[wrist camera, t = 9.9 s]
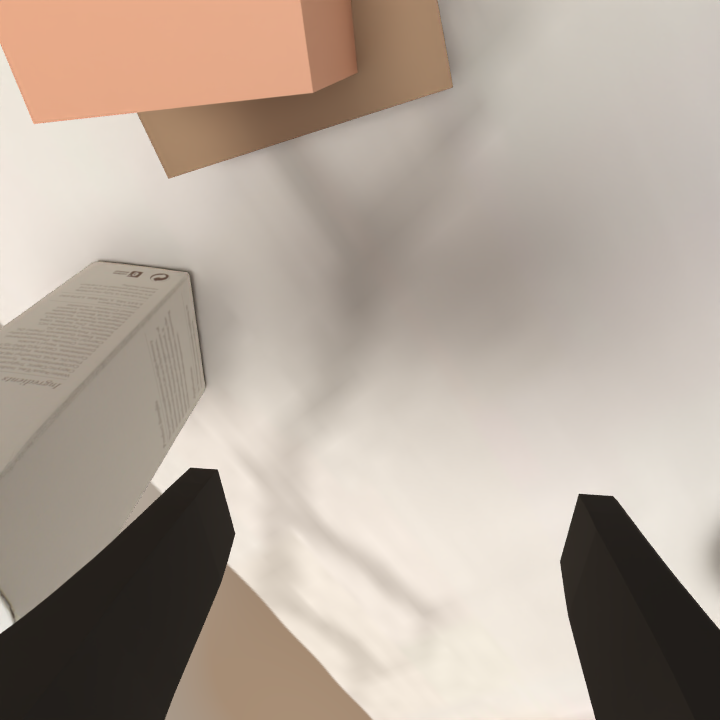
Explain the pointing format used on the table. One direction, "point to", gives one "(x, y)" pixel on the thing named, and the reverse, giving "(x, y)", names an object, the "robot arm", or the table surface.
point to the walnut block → (322, 108)
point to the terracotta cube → (171, 52)
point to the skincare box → (87, 417)
